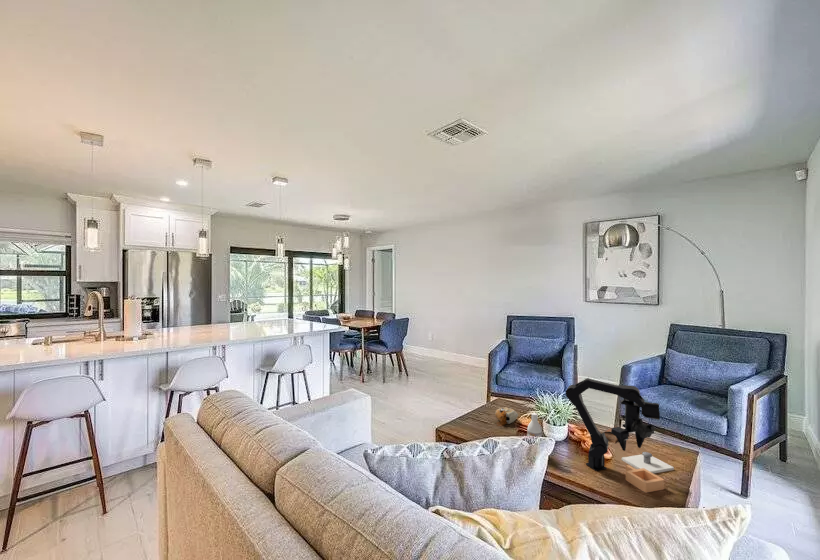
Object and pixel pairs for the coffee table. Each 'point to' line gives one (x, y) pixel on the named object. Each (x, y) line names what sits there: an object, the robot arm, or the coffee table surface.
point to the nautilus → (506, 415)
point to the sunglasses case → (610, 436)
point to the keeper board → (647, 463)
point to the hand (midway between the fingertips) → (631, 449)
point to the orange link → (651, 479)
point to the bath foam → (534, 426)
